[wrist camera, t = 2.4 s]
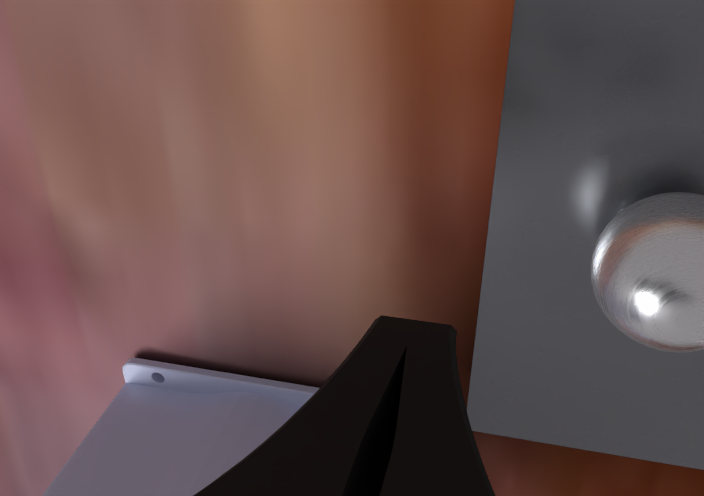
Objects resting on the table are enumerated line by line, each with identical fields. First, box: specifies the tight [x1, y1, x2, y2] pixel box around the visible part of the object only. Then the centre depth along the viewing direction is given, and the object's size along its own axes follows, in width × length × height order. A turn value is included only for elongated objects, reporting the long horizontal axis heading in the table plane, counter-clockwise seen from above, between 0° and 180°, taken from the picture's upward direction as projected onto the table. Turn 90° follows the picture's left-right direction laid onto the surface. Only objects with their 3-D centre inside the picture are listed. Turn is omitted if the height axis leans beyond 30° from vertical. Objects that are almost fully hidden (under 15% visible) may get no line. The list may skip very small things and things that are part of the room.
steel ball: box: [591, 192, 704, 352], centre depth 14 cm, size 3×3×3 cm
